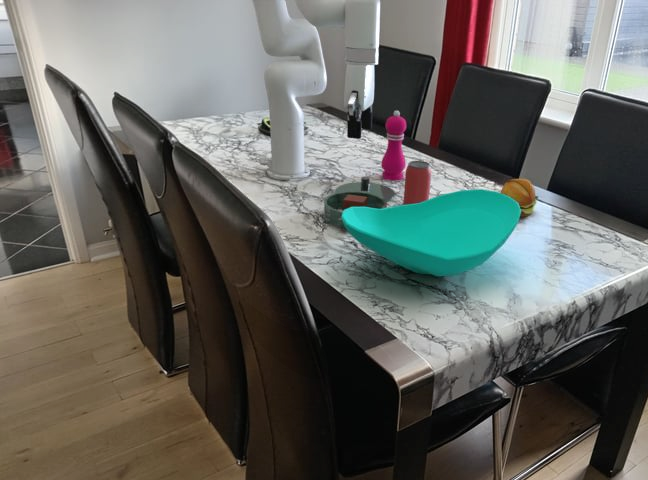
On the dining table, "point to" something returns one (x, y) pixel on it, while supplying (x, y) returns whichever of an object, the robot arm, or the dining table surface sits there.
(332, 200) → the pot
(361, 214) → the table top decor
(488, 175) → the dining table surface
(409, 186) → the beer can
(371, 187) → the lid
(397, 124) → the pepper mill
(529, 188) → the cheeseburger
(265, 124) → the salad plate
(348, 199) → the dark brown block
